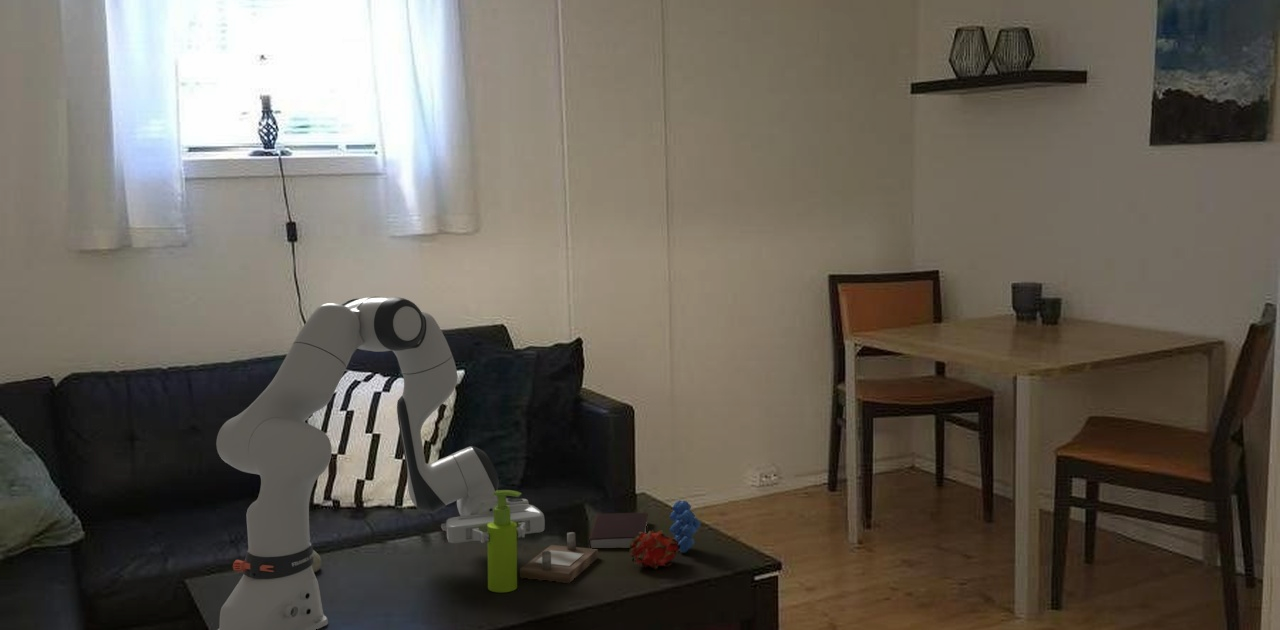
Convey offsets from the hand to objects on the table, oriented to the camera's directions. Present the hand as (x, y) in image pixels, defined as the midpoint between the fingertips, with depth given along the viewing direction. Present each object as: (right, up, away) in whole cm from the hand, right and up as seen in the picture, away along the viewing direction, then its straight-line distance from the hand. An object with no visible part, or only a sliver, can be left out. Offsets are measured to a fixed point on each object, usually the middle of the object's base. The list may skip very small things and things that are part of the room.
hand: (503, 536), depth 225 cm
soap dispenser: (0, -11, +2) cm, 11 cm away
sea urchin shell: (-45, -11, +15) cm, 49 cm away
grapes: (+38, -8, +22) cm, 44 cm away
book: (+23, -7, +34) cm, 42 cm away
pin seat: (+10, -9, +13) cm, 19 cm away
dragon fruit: (+31, -9, +13) cm, 35 cm away
